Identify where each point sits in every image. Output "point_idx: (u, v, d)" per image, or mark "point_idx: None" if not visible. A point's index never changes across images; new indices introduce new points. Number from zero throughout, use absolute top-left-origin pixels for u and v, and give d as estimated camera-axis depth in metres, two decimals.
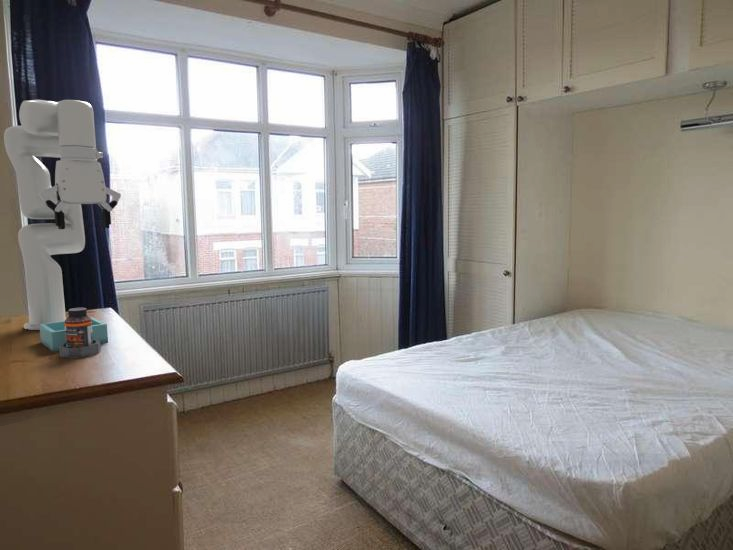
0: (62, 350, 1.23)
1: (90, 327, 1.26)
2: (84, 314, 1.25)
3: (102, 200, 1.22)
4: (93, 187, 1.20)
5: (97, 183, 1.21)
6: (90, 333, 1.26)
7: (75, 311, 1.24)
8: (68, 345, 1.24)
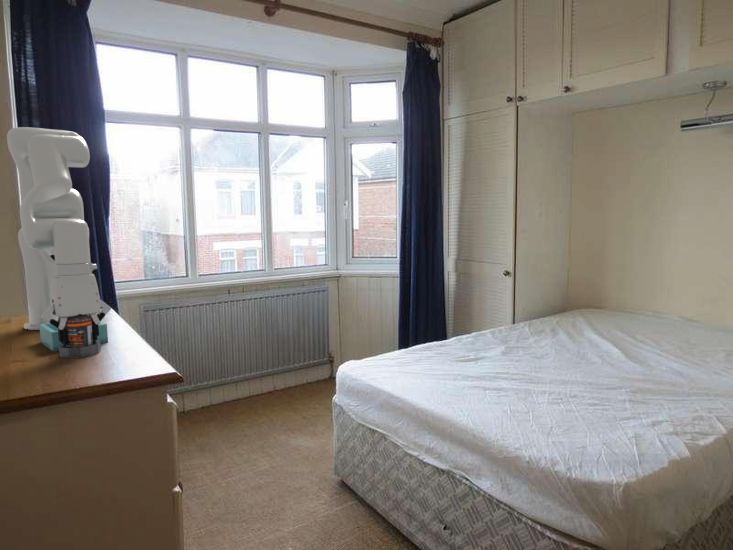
0: (62, 350, 1.23)
1: (90, 327, 1.26)
2: None
3: (96, 310, 1.27)
4: (88, 300, 1.25)
5: (91, 295, 1.25)
6: (90, 333, 1.26)
7: None
8: (68, 345, 1.24)
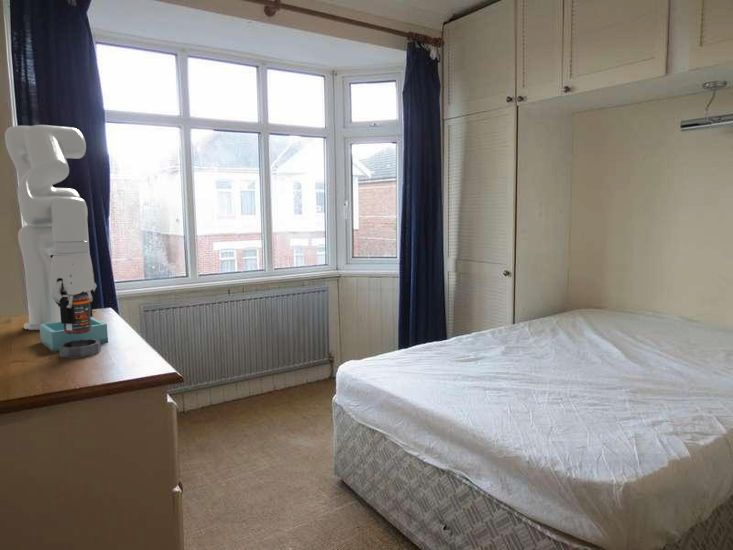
0: (62, 350, 1.23)
1: None
2: None
3: (92, 288, 1.29)
4: (88, 277, 1.27)
5: (90, 273, 1.27)
6: None
7: None
8: (73, 324, 1.24)
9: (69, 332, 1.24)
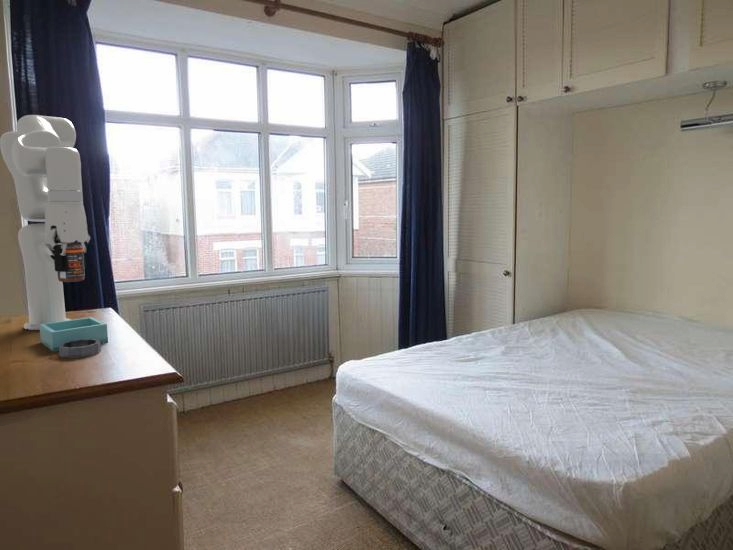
0: (62, 350, 1.23)
1: None
2: None
3: (86, 238, 1.31)
4: (81, 227, 1.29)
5: (83, 223, 1.30)
6: (83, 260, 1.30)
7: None
8: (67, 272, 1.26)
9: (63, 280, 1.26)
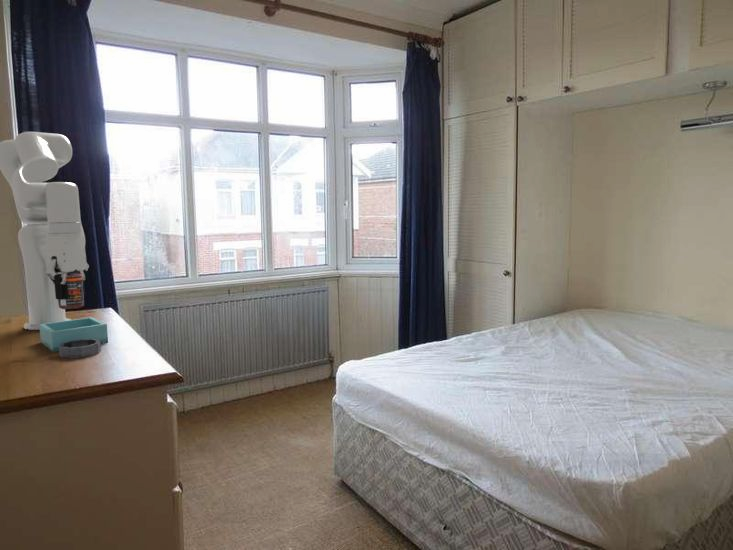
0: (62, 350, 1.23)
1: None
2: None
3: (85, 267, 1.39)
4: (80, 257, 1.36)
5: (82, 253, 1.37)
6: (82, 287, 1.37)
7: None
8: (67, 299, 1.33)
9: (63, 307, 1.33)
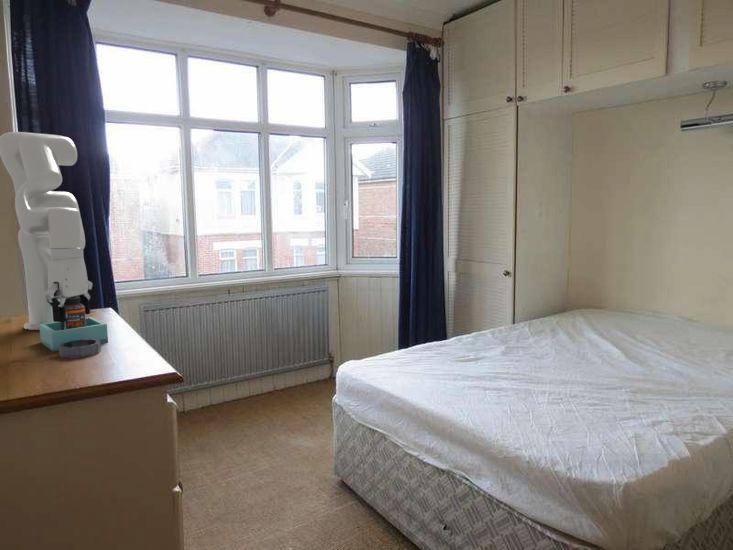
0: (62, 350, 1.23)
1: None
2: None
3: (86, 291, 1.39)
4: (82, 281, 1.37)
5: (84, 277, 1.38)
6: (85, 318, 1.39)
7: (75, 299, 1.35)
8: None
9: None
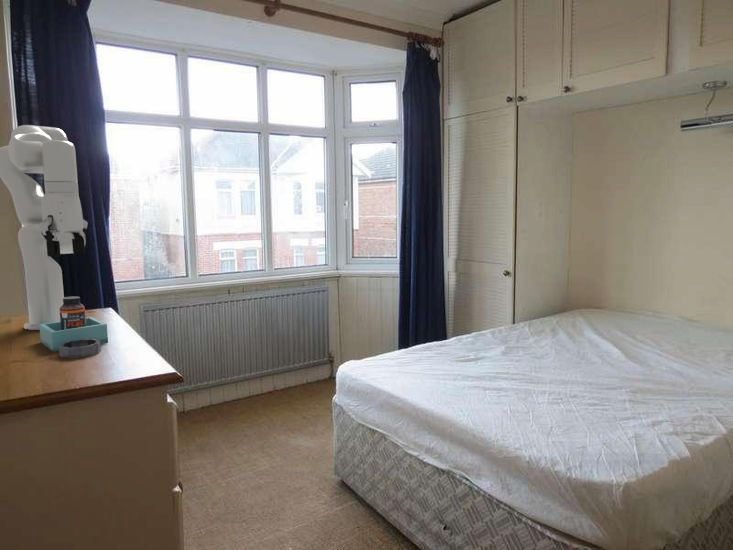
0: (62, 350, 1.23)
1: None
2: (79, 301, 1.37)
3: (81, 228, 1.37)
4: (77, 217, 1.35)
5: (79, 214, 1.36)
6: None
7: (75, 299, 1.35)
8: None
9: None
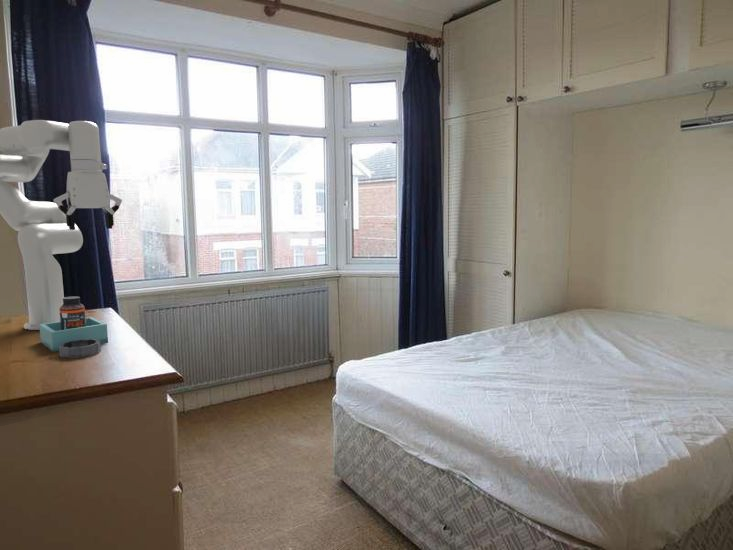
0: (62, 350, 1.23)
1: None
2: (79, 301, 1.37)
3: (106, 205, 1.44)
4: (98, 194, 1.42)
5: (102, 190, 1.42)
6: None
7: (75, 299, 1.35)
8: None
9: None
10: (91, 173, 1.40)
